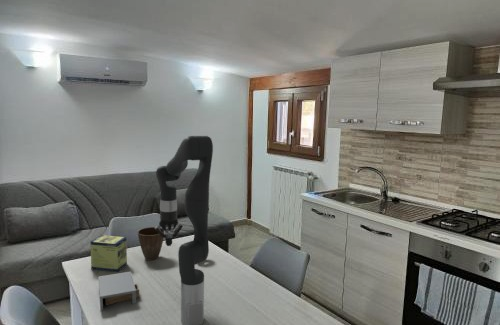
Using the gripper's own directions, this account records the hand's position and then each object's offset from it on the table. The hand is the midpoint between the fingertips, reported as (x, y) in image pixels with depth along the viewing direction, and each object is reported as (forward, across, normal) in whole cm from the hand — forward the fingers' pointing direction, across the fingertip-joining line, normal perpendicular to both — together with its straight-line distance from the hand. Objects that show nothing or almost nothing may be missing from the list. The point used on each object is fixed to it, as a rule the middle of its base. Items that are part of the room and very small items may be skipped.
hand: (168, 245), depth 162 cm
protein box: (+23, -24, +40) cm, 52 cm away
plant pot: (+23, -1, +44) cm, 50 cm away
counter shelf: (+23, -23, +5) cm, 33 cm away
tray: (+23, -21, +2) cm, 31 cm away
